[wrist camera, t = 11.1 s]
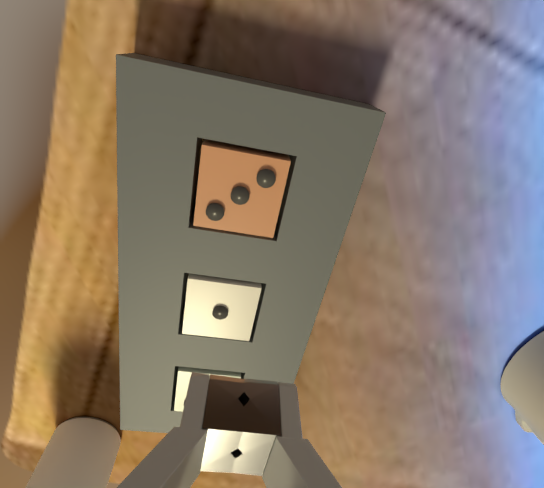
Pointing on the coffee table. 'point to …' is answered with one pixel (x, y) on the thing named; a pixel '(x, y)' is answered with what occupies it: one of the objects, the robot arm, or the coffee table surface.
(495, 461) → the coffee table surface
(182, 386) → the two dot button
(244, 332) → the one dot button
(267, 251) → the button board
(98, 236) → the coffee table surface
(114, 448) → the can
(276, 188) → the three dot button
